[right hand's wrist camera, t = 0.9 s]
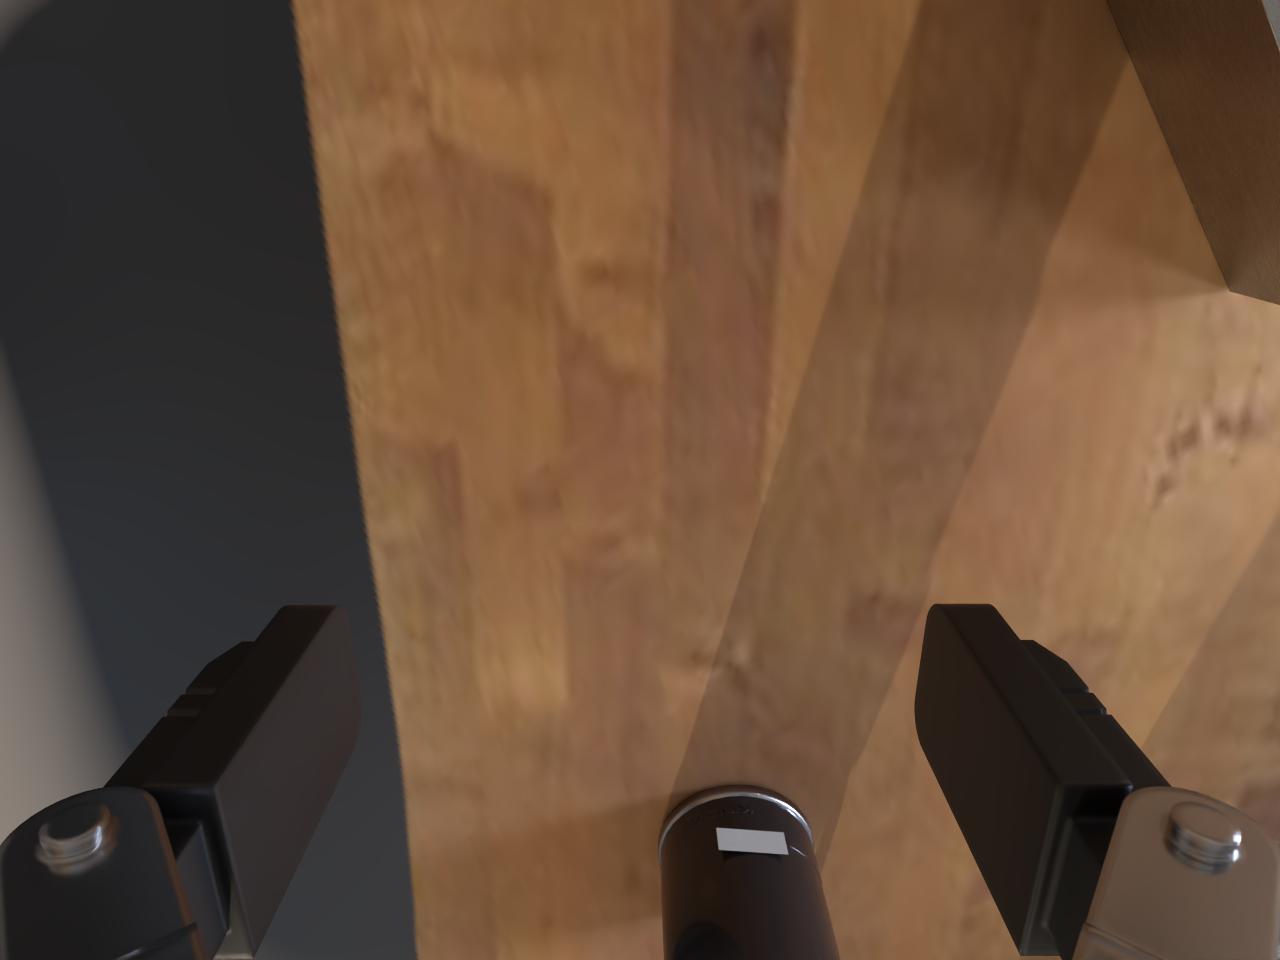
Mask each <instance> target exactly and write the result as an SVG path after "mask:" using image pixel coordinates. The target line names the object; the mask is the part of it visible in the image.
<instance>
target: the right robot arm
mask: <svg viewBox="0 0 1280 960" xmlns="http://www.w3.org/2000/svg"><path fill="white" fill-rule="evenodd" d="M360 723H361V698H360V691H359V684H358V677H357V670H356V664H355V657H354V650H353V643H352V636H351V629H350V623H349V618H348V615H347V612H346V610H345V609H344V607H342V606H340V605H286V606H284V607H282V608H281V609H280V610H279V611H278V613H277V614H276V615H275V616H274V618H273V619H272V620H271V621H270V623H269V624H268V625H267V626H266V628H265V629H264V630H263V631H262V633H261V634H260V635H259V637H258V638H257V639H256V640H255V642H241V643H239V644H238V645H236V646H234V647H233V648H231V649H230V650H228V651H227V652H225V653H224V654H222V655H221V656H219V657H217V658H216V659H214V660H213V661H211V662H210V663H208V664H207V665H206V666H205V668H204V669H203V670H202V671H201V672H200V673H199V675H198V676H197V677H196V678H195V679H194V681H193V682H192V683H191V684H190V685H189V687H188V688H187V689H186V694H185V695H181V696H180V697H179V698H178V699H177V701H176V702H175V703H174V704H173V705H172V707H171V708H170V709H169V710H168V715H167V717H162V718H161V720H160V721H159V722H158V723H157V724H156V725H155V727H154V728H153V729H152V730H151V731H150V733H149V734H148V735H147V736H146V737H145V739H144V740H143V741H142V742H141V743H140V744H139V746H138V747H137V748H136V749H135V750H134V751H133V753H132V754H131V755H130V756H129V757H128V759H127V760H126V761H125V762H124V763H123V764H122V766H121V767H120V768H119V769H118V770H117V772H116V773H115V774H114V775H113V776H112V777H111V779H110V780H109V781H108V782H107V783H106V785H105V786H104V787H103V788H98V789H94V790H90V791H85V792H82V793H79V794H76V795H73V796H70V797H68V798H66V799H63V800H61V801H58V802H56V803H54V804H52V805H50V806H48V807H46V808H44V809H43V810H41V811H39V812H38V813H36V814H34V815H33V816H31V817H30V818H29V819H27V820H26V821H25V822H23V823H22V824H21V825H19V826H18V827H17V828H16V829H15V830H14V831H13V832H12V833H10V835H9V836H8V837H7V838H6V839H5V840H4V841H3V843H2V844H1V845H0V960H213V959H253V958H254V956H255V954H256V952H257V950H258V948H259V946H260V944H261V942H262V940H263V938H264V936H265V934H266V931H267V929H268V927H269V925H270V923H271V921H272V919H273V917H274V915H275V913H276V911H277V908H278V906H279V904H280V902H281V900H282V898H283V896H284V894H285V892H286V890H287V888H288V886H289V884H290V881H291V879H292V877H293V875H294V873H295V871H296V869H297V867H298V865H299V863H300V860H301V859H302V856H303V854H304V852H305V850H306V848H307V846H308V844H309V842H310V840H311V838H312V836H313V833H314V831H315V829H316V827H317V825H318V823H319V821H320V819H321V817H322V815H323V813H324V811H325V808H326V806H327V804H328V802H329V800H330V798H331V796H332V794H333V792H334V790H335V788H336V786H337V783H338V781H339V779H340V777H341V775H342V773H343V771H344V769H345V767H346V765H347V763H348V760H349V758H350V756H351V754H352V752H353V750H354V748H355V745H356V742H357V739H358V735H359V730H360ZM915 723H916V729H917V734H918V738H919V741H920V744H921V747H922V749H923V751H924V753H925V755H926V757H927V760H928V762H929V764H930V766H931V768H932V770H933V772H934V774H935V776H936V779H937V781H938V783H939V785H940V787H941V789H942V791H943V793H944V795H945V798H946V800H947V802H948V804H949V806H950V808H951V810H952V812H953V814H954V817H955V819H956V821H957V823H958V825H959V827H960V829H961V831H962V833H963V836H964V838H965V840H966V842H967V844H968V846H969V848H970V850H971V852H972V855H973V857H974V859H975V861H976V863H977V865H978V867H979V869H980V871H981V873H982V876H983V878H984V880H985V882H986V884H987V886H988V888H989V890H990V892H991V895H992V897H993V899H994V901H995V903H996V905H997V907H998V909H999V911H1000V914H1001V916H1002V918H1003V920H1004V922H1005V924H1006V926H1007V928H1008V930H1009V933H1010V935H1011V937H1012V939H1013V941H1014V943H1015V945H1016V947H1017V949H1018V952H1019V954H1020V956H1060V957H1061V959H1062V960H1280V845H1279V844H1278V842H1277V841H1276V840H1275V839H1274V838H1273V837H1272V836H1271V834H1270V833H1268V832H1267V831H1266V830H1265V829H1264V828H1263V827H1262V826H1261V825H1259V824H1258V823H1257V822H1255V821H1254V820H1253V819H1251V818H1250V817H1249V816H1247V815H1246V814H1244V813H1242V812H1241V811H1239V810H1237V809H1236V808H1234V807H1232V806H1230V805H1228V804H1226V803H1224V802H1222V801H1220V800H1217V799H1215V798H1212V797H1210V796H1207V795H1204V794H1201V793H1198V792H1195V791H1190V790H1186V789H1182V788H1175V787H1171V785H1170V784H1169V783H1168V782H1167V781H1166V780H1165V778H1164V777H1163V776H1162V775H1161V774H1160V772H1159V771H1158V770H1157V769H1156V768H1155V766H1154V765H1153V764H1152V763H1151V762H1150V760H1149V759H1148V758H1147V757H1146V756H1145V754H1144V753H1143V752H1142V751H1141V750H1140V749H1139V747H1138V746H1137V745H1136V744H1135V743H1134V741H1133V740H1132V739H1131V738H1130V737H1129V735H1128V734H1127V733H1126V732H1125V731H1124V729H1123V728H1122V727H1121V726H1120V725H1119V724H1118V722H1117V721H1116V720H1115V719H1114V718H1113V716H1112V715H1107V712H1106V708H1105V707H1104V706H1103V704H1102V703H1101V702H1100V701H1099V700H1098V698H1097V697H1096V696H1095V695H1094V694H1093V693H1089V691H1088V687H1087V685H1086V684H1085V683H1084V682H1083V681H1082V679H1081V678H1080V677H1079V676H1078V675H1077V673H1076V672H1075V671H1074V670H1073V669H1072V667H1071V666H1070V665H1069V664H1068V663H1067V662H1066V661H1065V660H1063V659H1061V658H1060V657H1058V656H1057V655H1055V654H1054V653H1052V652H1051V651H1049V650H1048V649H1046V648H1044V647H1043V646H1041V645H1040V644H1038V643H1037V642H1035V641H1034V640H1020V639H1019V638H1018V636H1017V635H1016V634H1015V633H1014V631H1013V630H1012V629H1011V628H1010V626H1009V625H1008V624H1007V622H1006V621H1005V620H1004V619H1003V617H1002V616H1001V615H1000V613H999V612H998V611H997V610H996V608H995V607H994V606H992V605H991V604H934V605H933V606H932V607H931V608H930V610H929V612H928V615H927V620H926V626H925V633H924V639H923V646H922V653H921V660H920V667H919V674H918V681H917V688H916V695H915ZM658 852H659V864H660V868H661V890H662V924H663V950H664V960H840V956H839V952H838V948H837V944H836V940H835V936H834V932H833V928H832V923H831V919H830V915H829V911H828V907H827V903H826V899H825V895H824V891H823V887H822V882H821V878H820V874H819V870H818V866H817V862H816V858H815V854H814V844H813V839H812V835H811V831H810V827H809V824H808V822H807V820H806V818H805V816H804V814H803V813H802V812H801V810H800V809H799V808H798V807H797V806H796V805H795V804H794V803H793V802H791V801H790V800H789V799H787V798H786V797H784V796H782V795H780V794H778V793H776V792H774V791H771V790H768V789H765V788H761V787H757V786H750V785H728V786H721V787H716V788H712V789H709V790H706V791H703V792H700V793H698V794H696V795H694V796H692V797H690V798H689V799H687V800H685V801H684V802H683V803H681V804H680V805H679V806H678V807H677V808H675V809H674V810H673V812H672V813H671V814H670V815H669V816H668V818H667V819H666V821H665V823H664V824H663V826H662V829H661V832H660V835H659V842H658Z"/></svg>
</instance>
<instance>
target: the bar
mask: <svg viewBox="0 0 1280 960" xmlns="http://www.w3.org/2000/svg"><path fill="white" fill-rule="evenodd" d="M1107 2H1108V4H1109V7H1110V9H1111V11H1112V14H1113V16H1114V18H1115V21H1116V23H1117V26H1118V28H1119V30H1120V33H1121V35H1122V37H1123V40H1124V42H1125V44H1126V47H1127V49H1128V51H1129V54H1130V56H1131V59H1132V61H1133V63H1134V66H1135V68H1136V70H1137V73H1138V75H1139V77H1140V80H1141V82H1142V85H1143V87H1144V89H1145V92H1146V94H1147V96H1148V99H1149V101H1150V103H1151V106H1152V108H1153V111H1154V113H1155V115H1156V118H1157V120H1158V122H1159V125H1160V127H1161V129H1162V132H1163V134H1164V136H1165V139H1166V141H1167V144H1168V146H1169V148H1170V151H1171V153H1172V155H1173V158H1174V160H1175V162H1176V165H1177V167H1178V170H1179V172H1180V174H1181V177H1182V179H1183V181H1184V184H1185V186H1186V188H1187V191H1188V193H1189V196H1190V198H1191V200H1192V203H1193V205H1194V207H1195V210H1196V212H1197V214H1198V217H1199V219H1200V221H1201V224H1202V226H1203V229H1204V231H1205V233H1206V236H1207V238H1208V240H1209V243H1210V245H1211V247H1212V250H1213V252H1214V255H1215V257H1216V259H1217V262H1218V264H1219V266H1220V269H1221V271H1222V273H1223V276H1224V278H1225V281H1226V283H1227V285H1228V288H1229V290H1230V291H1231V292H1234V293H1238V294H1241V295H1245V296H1249V297H1252V298H1256V299H1260V300H1263V301H1267V302H1271V303H1274V304H1278V305H1280V0H1107Z"/></svg>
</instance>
